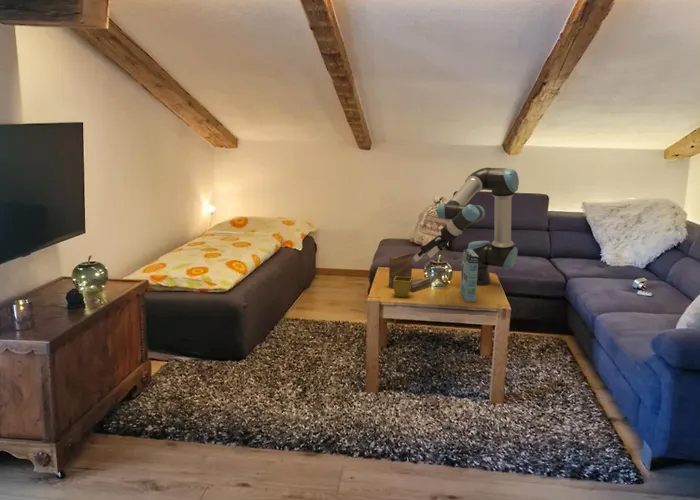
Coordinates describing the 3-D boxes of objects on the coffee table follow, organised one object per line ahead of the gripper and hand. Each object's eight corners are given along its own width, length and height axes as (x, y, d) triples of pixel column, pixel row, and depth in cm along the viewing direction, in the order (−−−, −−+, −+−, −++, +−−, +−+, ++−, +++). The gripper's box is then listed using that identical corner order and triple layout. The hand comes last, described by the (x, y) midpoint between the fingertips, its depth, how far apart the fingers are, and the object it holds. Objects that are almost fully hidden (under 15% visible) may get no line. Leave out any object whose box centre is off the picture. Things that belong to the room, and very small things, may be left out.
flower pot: (409, 298, 304) (410, 281, 303) (392, 297, 306) (393, 280, 304) (411, 294, 313) (412, 277, 311) (394, 293, 315) (395, 276, 313)
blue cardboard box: (460, 291, 321) (462, 248, 317) (469, 292, 321) (472, 249, 316) (465, 301, 302) (468, 256, 297) (476, 302, 302) (479, 256, 297)
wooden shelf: (431, 285, 333) (433, 256, 330) (413, 292, 317) (414, 262, 314) (408, 280, 342) (409, 252, 339) (388, 287, 326) (389, 258, 323)
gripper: (444, 239, 277) (413, 267, 288) (468, 234, 296) (438, 260, 308) (434, 226, 279) (404, 254, 290) (458, 222, 299) (430, 248, 310)
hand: (422, 257), depth 299 cm, fingers open, 13 cm apart
